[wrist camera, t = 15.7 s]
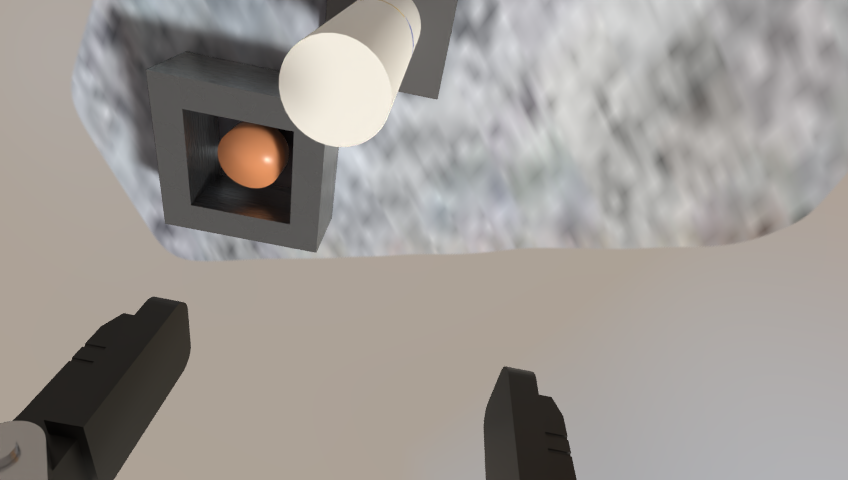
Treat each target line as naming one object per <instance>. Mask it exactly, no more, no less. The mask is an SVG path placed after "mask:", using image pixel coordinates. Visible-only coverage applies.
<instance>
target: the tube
mask: <svg viewBox="0 0 848 480" xmlns="http://www.w3.org/2000/svg"><path fill="white" fill-rule="evenodd" d="M420 30H421V20H420V15H419V12H418V10H417V7H416V5H415V4H414V2H413V1H412V0H357V1H356V2H354V3H353V4H352V5H350V6H349V7H347V8H346V9H345V10H343V11H342V12H340V13H339V14H337V15H336V16H335V17H333V18H332V19H330V20H329V21H328V22H326V23H325V24H323V25H322V26H321V27H319V28H318V29H316V30H315V31H313V32H312V33H311V34H309V35H308V36H306V37H305V38H304V39H302V40H301V41H299V42H298V43H297V44H296V45H295V46H294V47H292V49H291V50H290V51H289V53H288V54H287V55H286V57H285V59H284V61H283V63H282V66H281V70H280V74H279V91H280V97H281V101H282V103H283V106H284V109H285V111H286V113H287V114H288V116H289V117H290V119H291V121H292V122H293V123H294V124H295V125H296V126H297V128H298V129H299V130H301V131H302V132H303V133H304V134H305V135H307V136H308V137H310V138H312V139H313V140H315V141H317V142H320V143H322V144H325V145H329V146H334V147H350V146H355V145H359V144H361V143H363V142H366V141H368V140H369V139H370V138H372V137H373V136H375V135H376V134H377V133H378V132H379V131H380V130H381V128H382V127H383V125H384V124H385V122H386V120H387V118H388V115H389V113H390V110H391V108H392V105H393V103H394V100H395V98H396V95H397V92H398V90H399V87H400V85H401V82H402V80H403V77H404V75H405V72H406V70H407V67H408V64H409V62H410V59H411V57H412V54H413V52H414V49H415V46H416V44H417V41H418V39H419V36H420Z"/></svg>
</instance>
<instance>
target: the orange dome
mask: <svg viewBox="0 0 848 480" xmlns="http://www.w3.org/2000/svg"><path fill="white" fill-rule="evenodd" d="M218 159H219V162H220V165H221V167H222V169H223V170H224V172H225V173H226V174H227V175H228V176H229V177H230V178H231V179H232V180H234V181H235V182H237V183H238V184H240V185H243V186H245V187H249V188H263V187H266V186H269V185H270V184H272V183H273V182H274V181H275V180H276V179H277V178H278V176H279V175H280V173H281V172H282V171H283V169H284V168H285V167H286V165H287V163H288V160H289V147H288V144H287V142H286V140H285V138H284V136H283V135H282V134H281V132H280V131H279V130H278V129H276V128H274V127H269V126H264V125H259V124H254V123H249V122H244V121H242V122H240V123H239V124H237V125H236V126H235V127H234V128H233V129H232V130H230V131H229V132H228V133H227V134H226V135H225V136H224V137H223V138H222V139H221V141H220V143H219V145H218Z"/></svg>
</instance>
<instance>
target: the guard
mask: <svg viewBox="0 0 848 480" xmlns="http://www.w3.org/2000/svg"><path fill="white" fill-rule="evenodd" d="M279 74H280V71H277V70H272V69H267V68H262V67H257V66H253V65H248V64H243V63H238V62H234V61H229V60H224V59H219V58H214V57H210V56H205V55H200V54H195V53H190V52H184V53H181V54H179V55H177V56H175V57H173V58H170V59H168V60H166V61H164V62H162V63H159V64H157V65H155V66H153V67H151V68H148V69H146V76H147V84H148V92H149V99H150V107H151V115H152V123H153V131H154V139H155V147H156V155H157V162H158V170H159V178H160V186H161V194H162V202H163V210H164V218H165V224H170V225H175V226H181V227H186V228H191V229H196V230H201V231H207V232H212V233H217V234H222V235H227V236H233V237H238V238H243V239H248V240H253V241H259V242H264V243H269V244H274V245H279V246H285V247H290V248H295V249H300V250H305V251H310V252H317V250H318V248H319V245H320V243H321V241H322V239H323V236H324V234H325V232H326V230H327V227H328V225H329V223H330V221H331V219H332V210H333V200H334V189H335V179H336V169H337V158H338V148H339V147H334V146H329V145H325V144H322V143H320V142H317V141H315V140H313V139H312V138H310V137H308V136H307V135H305V134H304V133H303V132H302V131H301V130H299V129H298V128H297V126H296V125H295V124H294V123H293V122H292V121H291V119H290V117H289V116H288V114H287V113H286V111H285V109H284V106H283V103H282V101H281V97H280V91H279ZM218 116H220V117H225V118H230V119H235V120H239V121H244V122H249V123H254V124H259V125H264V126H269V127H274V128H279V129H284V130H289V131H293V132H294V141H293V165H292V189H291V188H286V187H281V186H276V185H271V184H270V185H269V186H266V187H263V188H249V187H245V186H243V185H240V184H238V183H237V182H235V181H234V180H232V179H231V178H230V177H229V176H226V175H221V169H220V162H219V159H218V145H219V128H218Z"/></svg>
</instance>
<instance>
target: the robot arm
mask: <svg viewBox="0 0 848 480" xmlns="http://www.w3.org/2000/svg"><path fill="white" fill-rule="evenodd" d="M190 349H191V345H190V332H189V319H188V308H187V305H186V303H184V302H179V301H174V300H169V299H163V298H158V297H151V298H149V299H148V300H147V301H146V302H145V303H144V305H143V306H142V307H141V308H140V309H139V310H138V311H137V313H136V314H135V315H130V314H125V313H123V314H121V315H120V316H118V317H116V318H115V319H113V320H111V321H109V322H108V323H106V324H104V325H103V326H101V327H100V328H99V329H98V330H97V331H96V333H95V334H94V335H93V336H92V337H91V338H90V339H89V340H88V341H87V342H86V344H85V347H82V348H81V349H80V350H79V351H78V352H77V353H76V354H75V355H74V356H73V357H72V360H71V361H69V362H68V363H67V364H66V365H65V366H64V367H63V368H62V369H61V370H60V371H59V372H58V373H57V374H56V376H55V377H54V378H53V379H52V380H51V381H50V382H49V383H48V384H47V385H46V386H45V387H44V389H43V390H42V391H41V392H40V393H39V394H38V395H37V396H36V397H35V398H34V399H33V400H32V401H31V403H30V404H29V405H28V406H27V407H26V408H25V409H24V410H23V411H22V412H21V413H20V414H19V415H18V416H17V417H16V418H15V419H14V420H13V421H9V422H4V423H0V480H113V479H114V478H115V477H116V475H117V473H118V472H119V470H120V469H121V467H122V466H123V464H124V463H125V461H126V460H127V458H128V456H129V455H130V453H131V452H132V450H133V449H134V447H135V446H136V444H137V442H138V441H139V439H140V438H141V436H142V434H143V433H144V432H145V430H146V428H147V427H148V425H149V424H150V422H151V421H152V419H153V418H154V416H155V414H156V413H157V411H158V410H159V408H160V407H161V405H162V404H163V402H164V400H165V399H166V397H167V396H168V394H169V393H170V391H171V389H172V388H173V386H174V385H175V383H176V382H177V380H178V379H179V377H180V376H181V374H182V372H183V371H184V369H185V367H186V364H187V362H188V359H189V355H190ZM484 447H485V469H486V480H576V475H575V470H574V466H573V461H572V457H571V456H570V453H571V451H570V446H569V442H568V440H567V432H566V428H565V423H564V418H563V415H562V413H561V412H560V410H559V409H558V407H557V405H556V404H555V402H554V401H553V399H552V397H548V396H542V395H539V394H538V387H537V381H536V376H535V374H534V372H531V371H526V370H521V369H515V368H510V367H503V369H502V370H501V373H500V375H499V378H498V380H497V382H496V385H495V387H494V390H493V392H492V394H491V397H490V399H489V402H488V404H487V407H486V412H485V418H484Z"/></svg>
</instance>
